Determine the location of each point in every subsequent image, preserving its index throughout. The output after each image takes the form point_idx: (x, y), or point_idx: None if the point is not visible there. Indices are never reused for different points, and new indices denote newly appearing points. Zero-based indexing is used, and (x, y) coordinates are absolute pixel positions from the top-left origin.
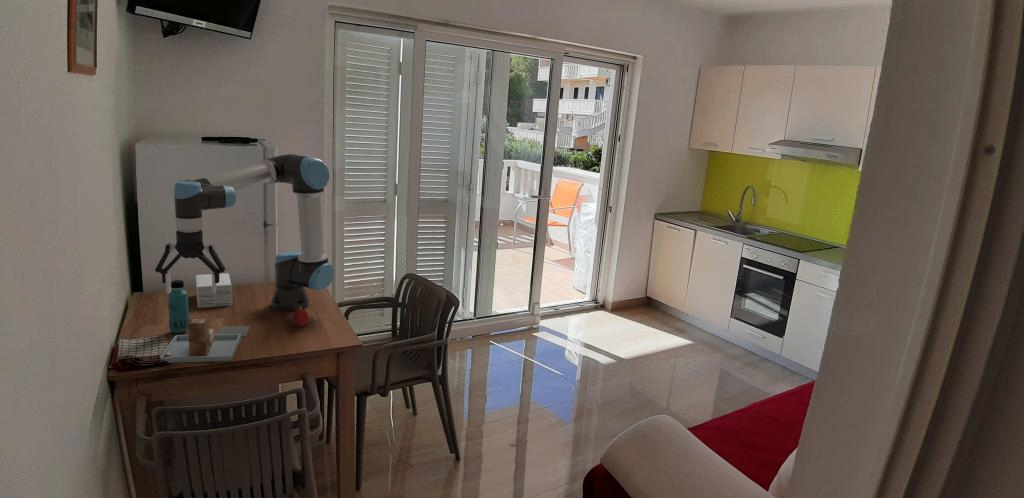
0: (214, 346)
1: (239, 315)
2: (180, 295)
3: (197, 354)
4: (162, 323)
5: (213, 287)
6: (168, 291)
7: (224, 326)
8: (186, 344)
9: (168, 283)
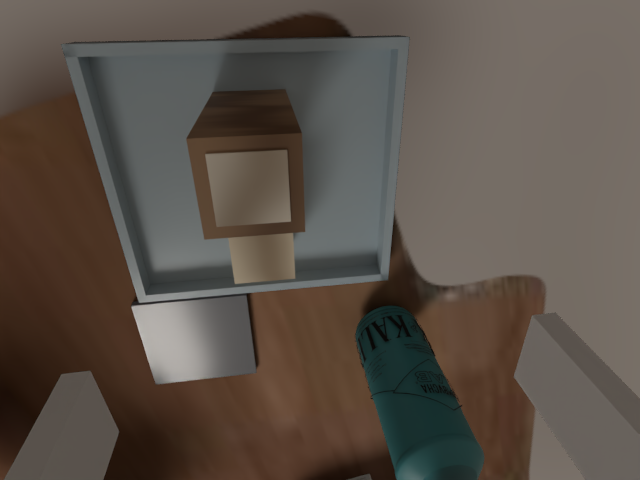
0: None
1: (233, 449)
2: (424, 448)
3: (251, 93)
4: None
5: (40, 444)
6: (551, 332)
7: (246, 372)
8: (335, 226)
9: (621, 417)
